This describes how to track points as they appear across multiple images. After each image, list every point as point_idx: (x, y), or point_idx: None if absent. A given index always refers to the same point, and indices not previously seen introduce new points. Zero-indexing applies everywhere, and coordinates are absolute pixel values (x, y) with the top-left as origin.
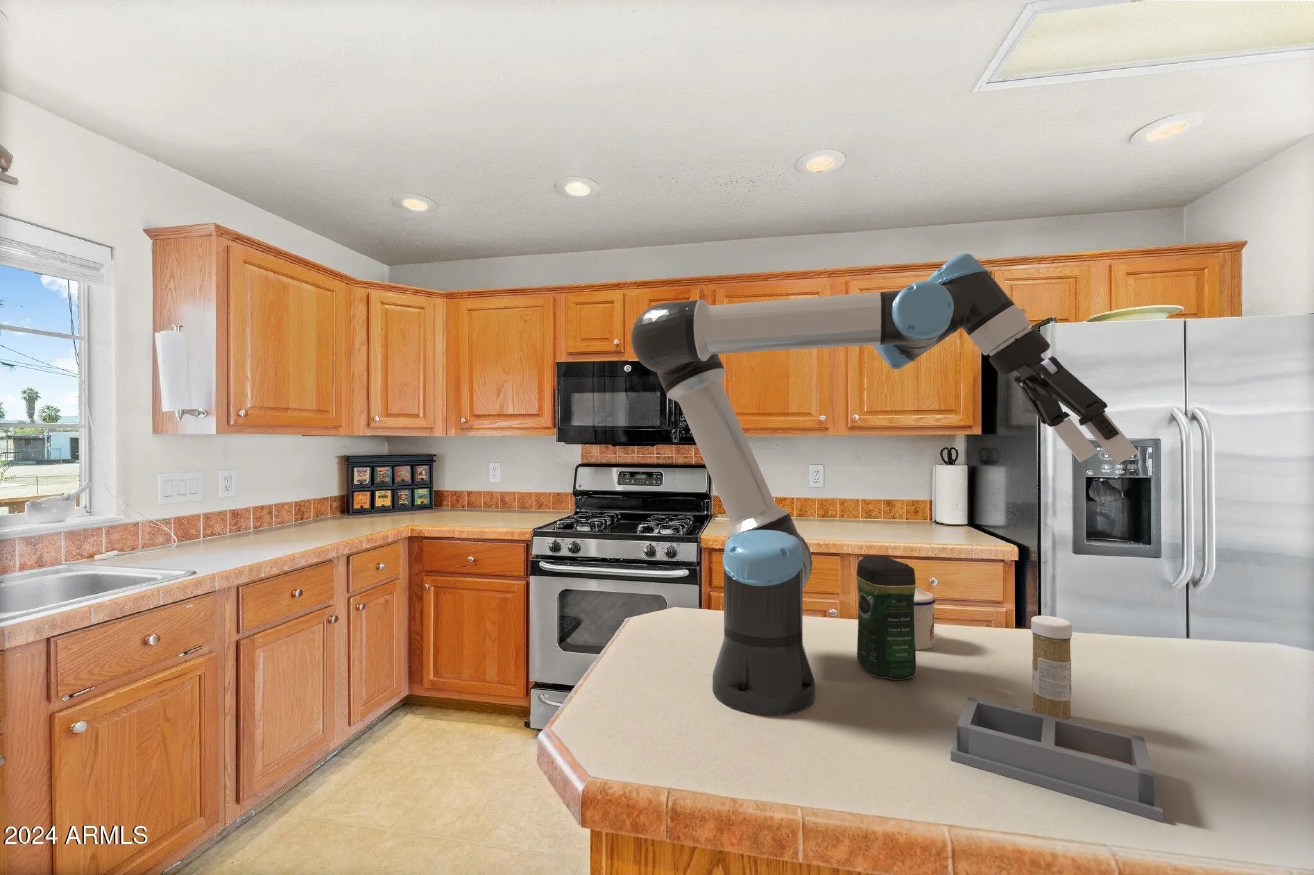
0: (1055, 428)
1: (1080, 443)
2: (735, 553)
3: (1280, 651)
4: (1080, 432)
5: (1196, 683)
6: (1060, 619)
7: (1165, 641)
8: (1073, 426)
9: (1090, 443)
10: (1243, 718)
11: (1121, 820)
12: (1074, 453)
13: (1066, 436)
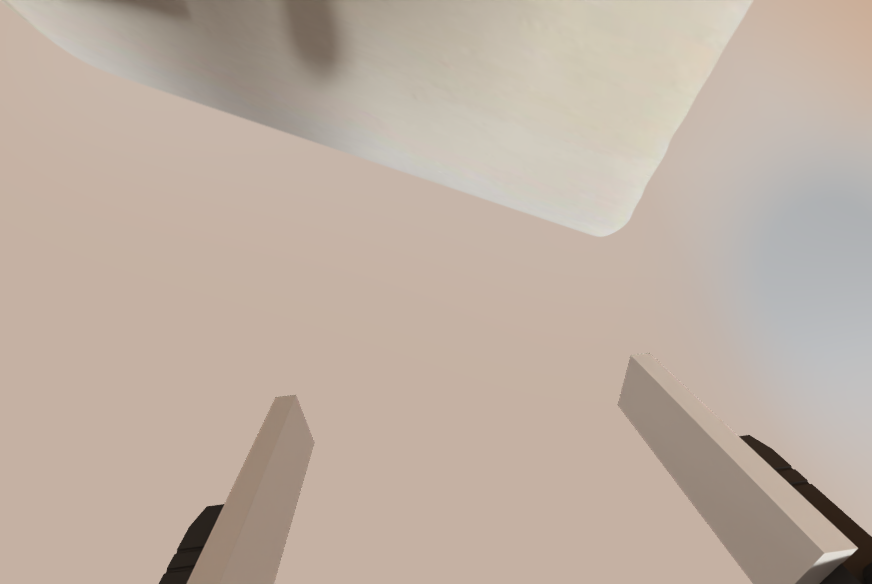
0: (806, 544)
1: (664, 436)
2: None
3: (605, 227)
4: (689, 494)
5: (515, 139)
6: None
7: (651, 156)
8: (727, 537)
9: (643, 438)
10: (425, 144)
11: None
12: (660, 384)
13: (724, 474)
